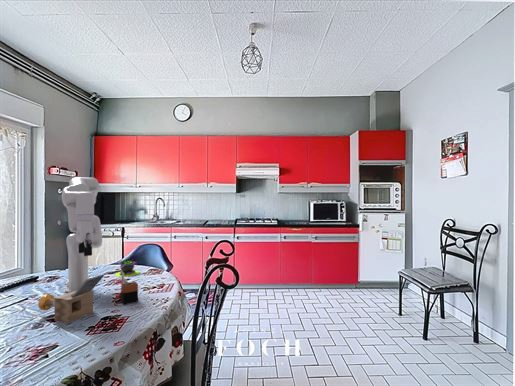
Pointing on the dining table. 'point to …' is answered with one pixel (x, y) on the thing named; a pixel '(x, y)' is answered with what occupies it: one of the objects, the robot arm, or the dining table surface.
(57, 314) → the block
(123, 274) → the tow hook
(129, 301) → the battery
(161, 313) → the dining table surface
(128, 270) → the toy cauldron
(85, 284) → the grey flat plate
